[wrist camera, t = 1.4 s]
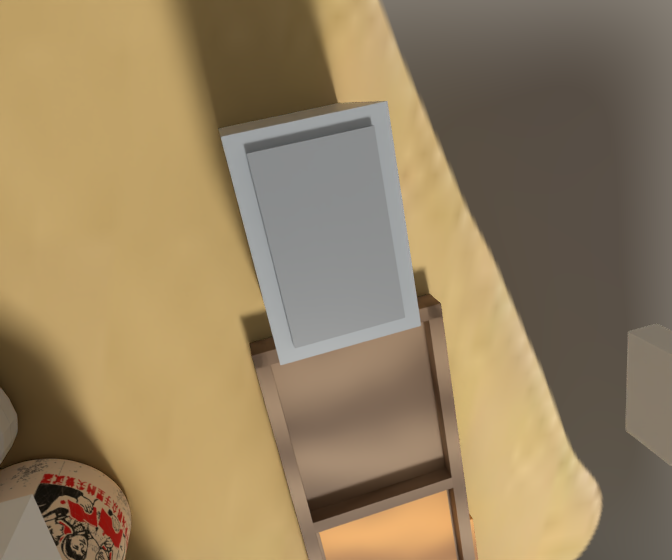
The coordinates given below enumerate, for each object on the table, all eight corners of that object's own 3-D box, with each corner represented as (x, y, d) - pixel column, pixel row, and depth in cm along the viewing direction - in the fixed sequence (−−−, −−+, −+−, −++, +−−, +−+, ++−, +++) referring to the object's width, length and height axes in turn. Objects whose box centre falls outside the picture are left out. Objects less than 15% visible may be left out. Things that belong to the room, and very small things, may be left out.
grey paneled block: (218, 128, 25) (221, 137, 18) (337, 102, 26) (389, 100, 19) (262, 298, 28) (281, 368, 21) (368, 270, 29) (423, 328, 22)
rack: (249, 343, 29) (251, 355, 27) (432, 293, 31) (444, 302, 29) (334, 646, 37) (339, 668, 36) (474, 594, 39) (485, 613, 37)
